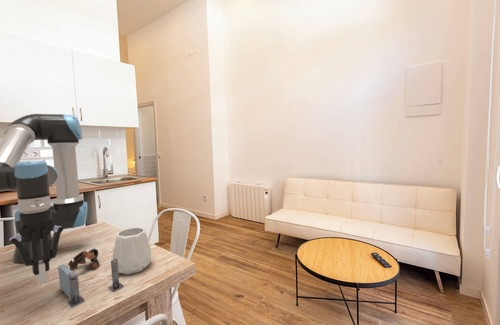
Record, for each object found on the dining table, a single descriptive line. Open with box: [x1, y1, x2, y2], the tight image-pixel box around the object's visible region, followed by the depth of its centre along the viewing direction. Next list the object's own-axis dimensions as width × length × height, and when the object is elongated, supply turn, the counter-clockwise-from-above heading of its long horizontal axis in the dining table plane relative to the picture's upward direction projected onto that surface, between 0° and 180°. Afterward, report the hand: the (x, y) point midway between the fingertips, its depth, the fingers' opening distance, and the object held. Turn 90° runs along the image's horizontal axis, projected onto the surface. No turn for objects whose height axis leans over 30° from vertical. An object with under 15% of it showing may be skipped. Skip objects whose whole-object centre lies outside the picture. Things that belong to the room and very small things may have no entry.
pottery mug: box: [68, 248, 101, 271], centre depth 99 cm, size 12×10×8 cm
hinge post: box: [67, 276, 85, 308], centre depth 77 cm, size 4×4×8 cm
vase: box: [112, 227, 152, 276], centre depth 97 cm, size 14×14×15 cm
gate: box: [57, 263, 79, 300], centre depth 81 cm, size 14×2×9 cm, turn 53°
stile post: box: [108, 258, 125, 293], centre depth 84 cm, size 4×4×10 cm
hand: (42, 282), depth 77 cm, fingers closed
